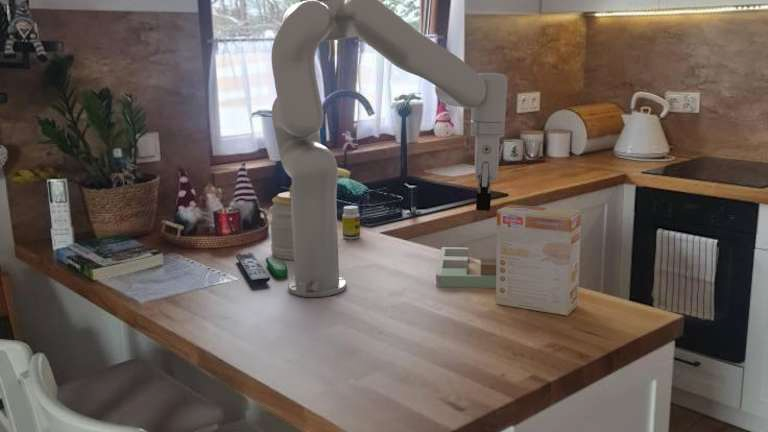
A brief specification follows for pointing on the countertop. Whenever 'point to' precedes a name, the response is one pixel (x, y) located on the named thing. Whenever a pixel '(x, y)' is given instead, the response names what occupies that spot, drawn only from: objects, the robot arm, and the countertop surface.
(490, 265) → the block
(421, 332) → the countertop surface
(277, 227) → the jar
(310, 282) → the robot arm
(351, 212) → the supplement bottle
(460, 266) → the trap box
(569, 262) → the coffeecake box
